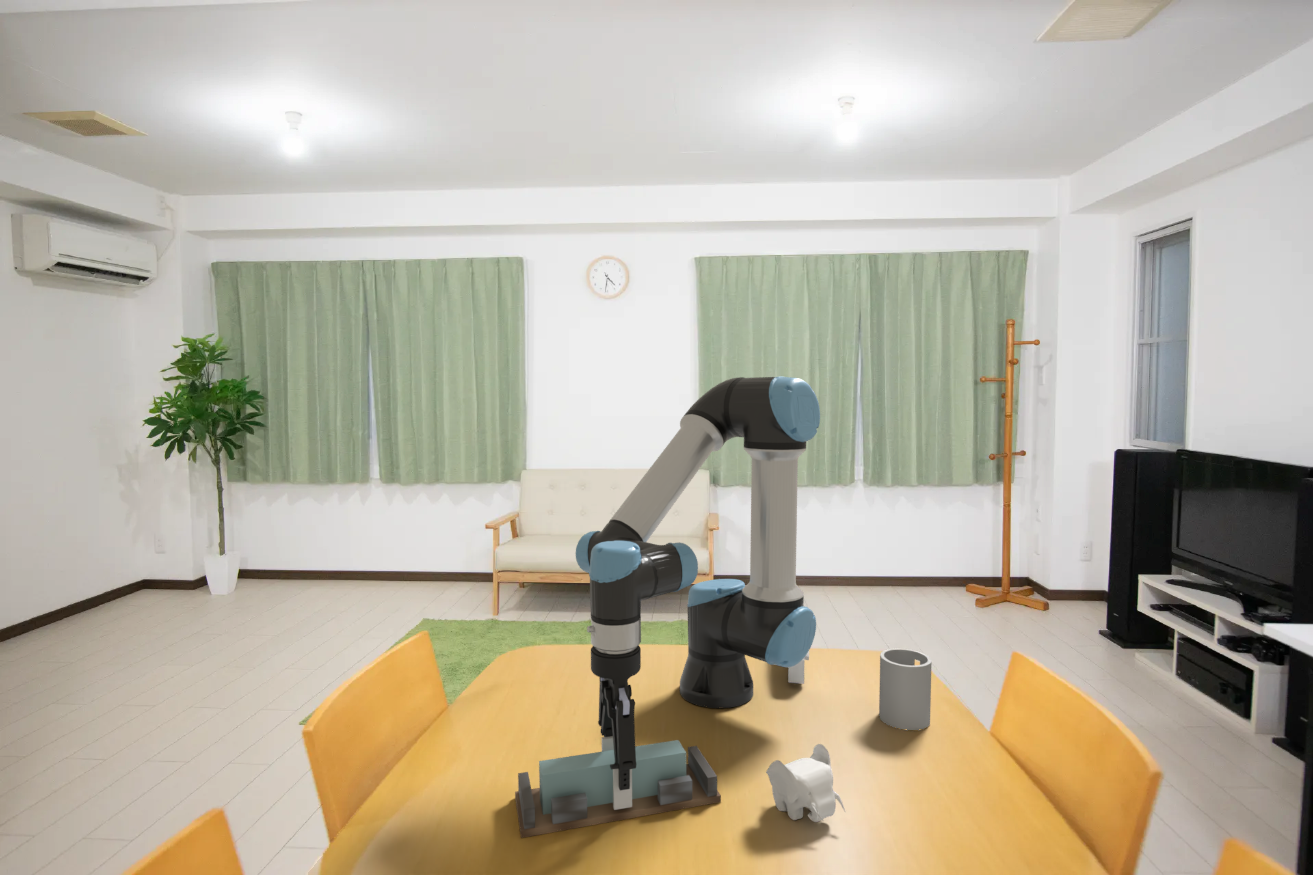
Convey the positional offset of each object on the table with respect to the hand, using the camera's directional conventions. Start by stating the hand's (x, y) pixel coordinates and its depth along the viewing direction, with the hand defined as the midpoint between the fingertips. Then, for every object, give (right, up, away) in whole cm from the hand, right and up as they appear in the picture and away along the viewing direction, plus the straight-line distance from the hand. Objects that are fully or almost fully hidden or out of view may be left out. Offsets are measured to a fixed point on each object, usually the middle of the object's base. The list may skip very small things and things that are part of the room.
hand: (616, 791), depth 107 cm
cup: (+53, +1, +26) cm, 59 cm away
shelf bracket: (+38, +2, +52) cm, 64 cm away
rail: (0, 0, 0) cm, 1 cm away
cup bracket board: (0, -1, 0) cm, 1 cm away
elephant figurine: (+28, -2, -3) cm, 28 cm away
